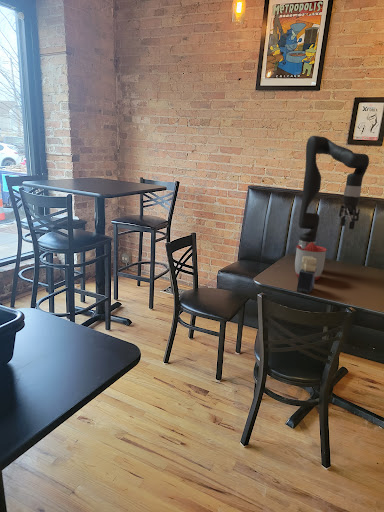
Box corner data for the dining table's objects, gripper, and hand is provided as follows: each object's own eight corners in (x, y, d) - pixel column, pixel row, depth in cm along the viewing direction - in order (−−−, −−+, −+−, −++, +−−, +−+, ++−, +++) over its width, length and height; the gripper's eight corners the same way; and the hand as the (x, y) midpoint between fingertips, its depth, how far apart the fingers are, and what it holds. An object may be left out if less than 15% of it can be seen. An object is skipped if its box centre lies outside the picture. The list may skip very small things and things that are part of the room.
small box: (309, 294, 171) (312, 273, 168) (296, 291, 174) (298, 271, 172) (314, 288, 180) (317, 268, 177) (301, 285, 183) (303, 266, 180)
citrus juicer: (308, 271, 208) (313, 238, 203) (328, 281, 192) (334, 245, 187) (285, 273, 203) (289, 238, 198) (303, 283, 187) (308, 246, 182)
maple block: (301, 268, 177) (302, 256, 175) (310, 268, 177) (312, 256, 176) (305, 271, 172) (306, 259, 170) (315, 271, 172) (316, 259, 171)
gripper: (337, 193, 184) (333, 224, 188) (352, 196, 170) (347, 230, 174) (351, 194, 184) (346, 225, 189) (367, 197, 171) (361, 230, 175)
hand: (346, 227), depth 181 cm, fingers open, 8 cm apart
